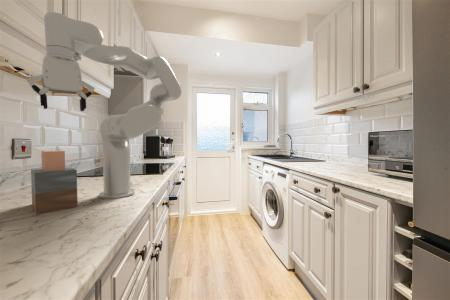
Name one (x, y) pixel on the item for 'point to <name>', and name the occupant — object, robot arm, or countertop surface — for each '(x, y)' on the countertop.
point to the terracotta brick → (53, 160)
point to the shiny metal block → (53, 189)
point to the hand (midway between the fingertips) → (64, 109)
